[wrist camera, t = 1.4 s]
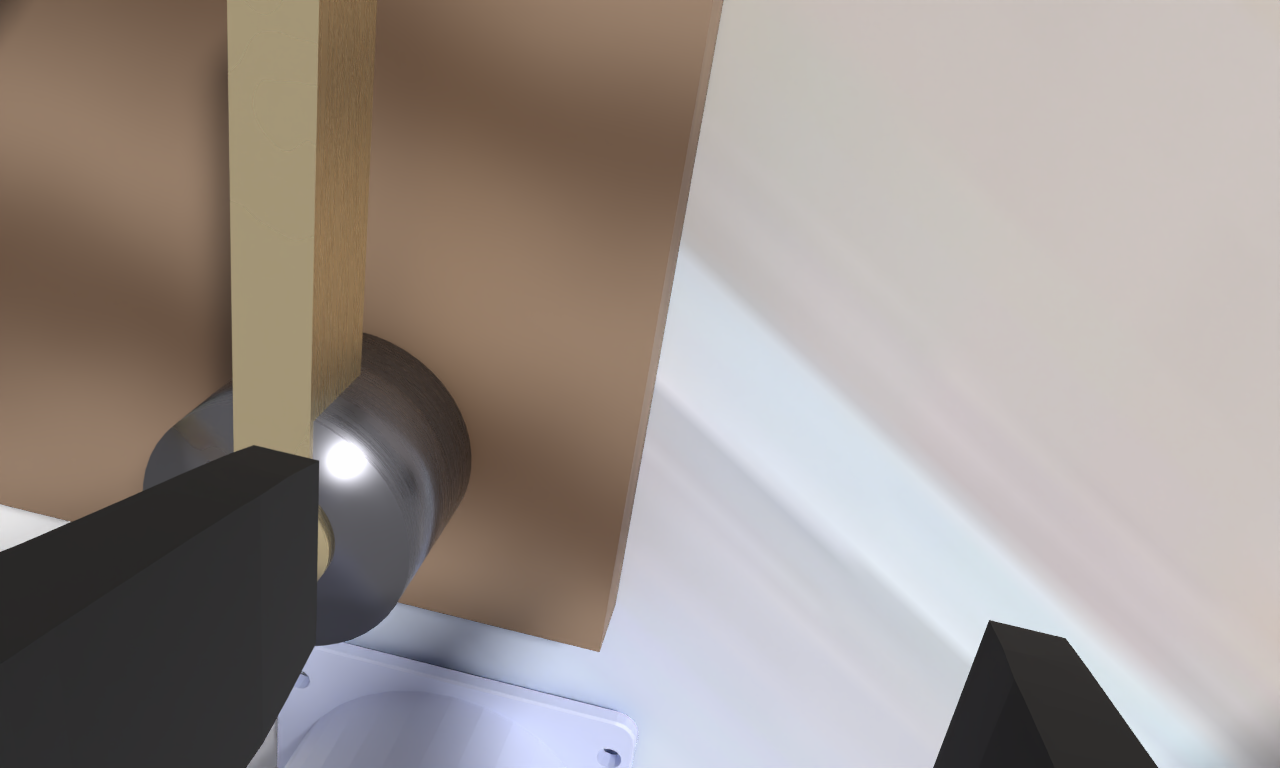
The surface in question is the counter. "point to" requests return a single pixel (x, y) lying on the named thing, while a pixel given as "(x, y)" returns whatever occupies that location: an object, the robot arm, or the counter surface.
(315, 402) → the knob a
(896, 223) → the counter surface
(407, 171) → the brown knob panel
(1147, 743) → the counter surface
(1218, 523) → the counter surface
